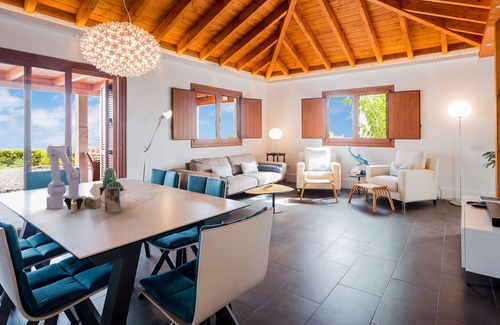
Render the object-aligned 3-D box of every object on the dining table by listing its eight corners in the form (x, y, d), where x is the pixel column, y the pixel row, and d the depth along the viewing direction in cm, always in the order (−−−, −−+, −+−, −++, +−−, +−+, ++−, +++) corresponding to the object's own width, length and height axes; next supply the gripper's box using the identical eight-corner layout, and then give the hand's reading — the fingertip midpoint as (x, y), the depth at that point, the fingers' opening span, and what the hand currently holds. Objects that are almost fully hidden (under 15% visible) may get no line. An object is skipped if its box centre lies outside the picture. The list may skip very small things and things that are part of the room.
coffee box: (121, 210, 199) (120, 187, 197) (119, 212, 192) (119, 188, 191) (106, 210, 196) (106, 187, 195) (104, 212, 190) (104, 189, 189)
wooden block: (72, 207, 202) (72, 198, 201) (79, 205, 210) (79, 195, 209) (95, 208, 202) (95, 198, 201) (101, 205, 210) (101, 196, 210)
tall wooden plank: (71, 212, 189) (71, 203, 189) (82, 207, 201) (81, 200, 201) (74, 212, 189) (74, 204, 189) (84, 207, 201) (84, 200, 201)
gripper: (58, 190, 185) (59, 210, 186) (81, 190, 185) (81, 211, 187) (65, 188, 192) (66, 208, 193) (87, 188, 192) (87, 208, 194)
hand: (74, 209), depth 190 cm, fingers open, 5 cm apart
